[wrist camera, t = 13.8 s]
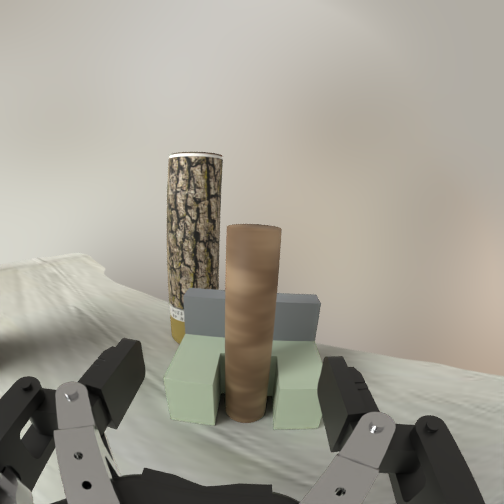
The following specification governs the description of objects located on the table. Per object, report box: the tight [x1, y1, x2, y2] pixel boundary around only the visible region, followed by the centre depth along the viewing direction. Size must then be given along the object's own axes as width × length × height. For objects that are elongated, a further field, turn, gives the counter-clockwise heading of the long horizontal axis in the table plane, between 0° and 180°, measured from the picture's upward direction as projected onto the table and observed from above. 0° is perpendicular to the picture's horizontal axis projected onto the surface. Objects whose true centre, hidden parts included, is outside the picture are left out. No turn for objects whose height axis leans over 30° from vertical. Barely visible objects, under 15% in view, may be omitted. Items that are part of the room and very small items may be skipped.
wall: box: [183, 288, 321, 341], centre depth 29 cm, size 14×2×10 cm, turn 88°
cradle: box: [163, 334, 322, 429], centre depth 25 cm, size 14×8×6 cm, turn 88°
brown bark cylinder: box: [167, 152, 223, 344], centre depth 35 cm, size 7×7×25 cm
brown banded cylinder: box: [225, 224, 281, 423], centre depth 22 cm, size 4×4×18 cm
